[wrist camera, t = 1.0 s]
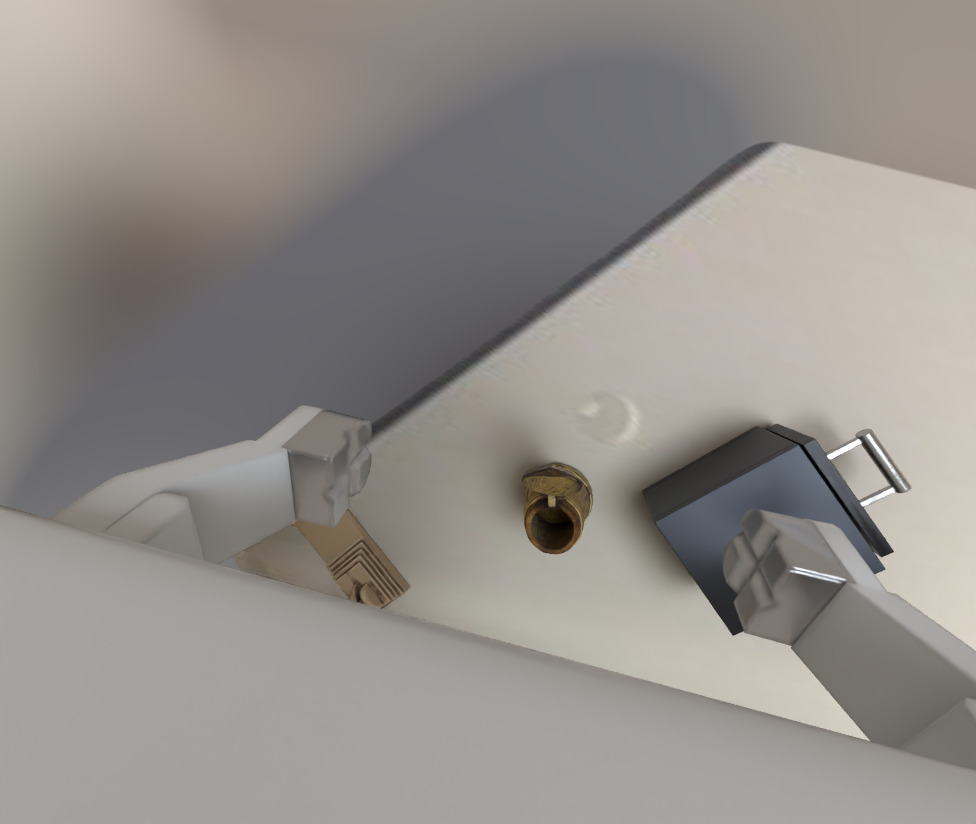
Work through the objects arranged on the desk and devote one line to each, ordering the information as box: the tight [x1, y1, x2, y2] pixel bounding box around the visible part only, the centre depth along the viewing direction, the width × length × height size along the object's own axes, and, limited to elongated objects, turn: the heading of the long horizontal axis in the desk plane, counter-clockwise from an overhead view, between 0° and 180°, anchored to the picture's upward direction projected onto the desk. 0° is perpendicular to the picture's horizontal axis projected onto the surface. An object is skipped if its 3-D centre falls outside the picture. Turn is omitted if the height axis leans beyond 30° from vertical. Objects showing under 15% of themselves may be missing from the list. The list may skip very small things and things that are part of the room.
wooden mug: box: [522, 463, 593, 554], centre depth 49 cm, size 9×14×18 cm, turn 179°
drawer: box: [767, 424, 911, 557], centre depth 47 cm, size 20×13×9 cm
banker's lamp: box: [292, 509, 410, 609], centre depth 50 cm, size 16×21×35 cm
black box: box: [643, 426, 885, 636], centre depth 48 cm, size 16×15×11 cm
